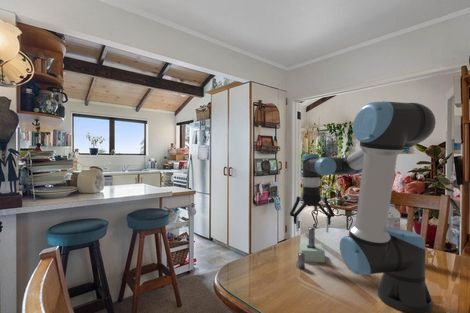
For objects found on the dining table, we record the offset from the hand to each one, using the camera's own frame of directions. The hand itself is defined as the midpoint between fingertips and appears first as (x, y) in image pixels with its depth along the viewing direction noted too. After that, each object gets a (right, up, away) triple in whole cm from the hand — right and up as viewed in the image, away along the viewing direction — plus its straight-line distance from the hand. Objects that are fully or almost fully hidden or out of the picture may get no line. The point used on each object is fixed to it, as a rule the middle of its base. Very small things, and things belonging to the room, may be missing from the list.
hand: (311, 231), depth 119 cm
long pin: (0, -13, +1) cm, 13 cm away
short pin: (-8, -13, -10) cm, 18 cm away
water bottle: (+38, -13, +1) cm, 40 cm away
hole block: (0, -13, +1) cm, 13 cm away
